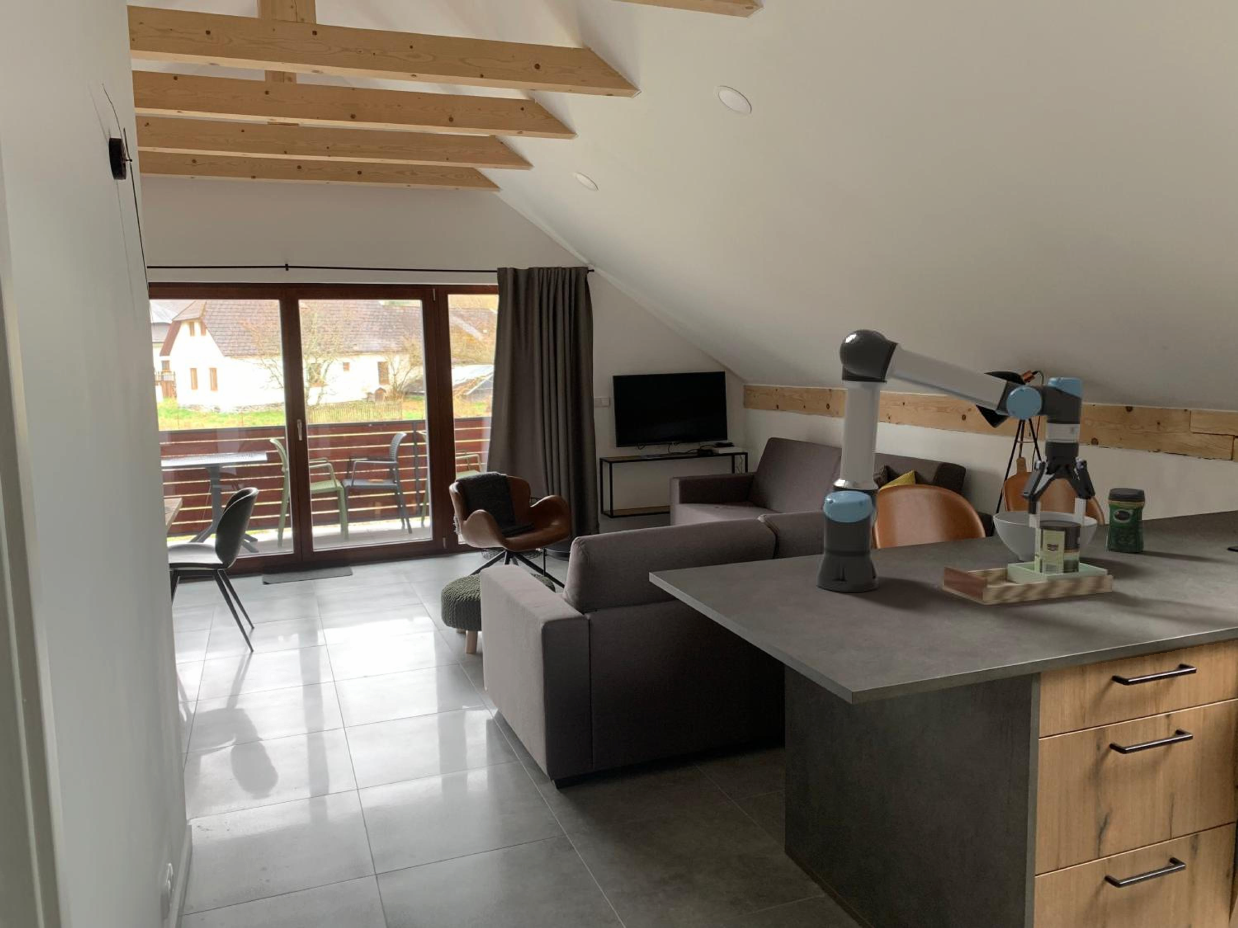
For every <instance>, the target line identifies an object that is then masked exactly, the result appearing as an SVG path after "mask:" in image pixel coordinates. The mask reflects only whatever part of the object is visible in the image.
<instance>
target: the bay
mask: <svg viewBox="0 0 1238 928" xmlns="http://www.w3.org/2000/svg"><path fill="white" fill-rule="evenodd" d="M1007 570H1008V567H999V568H988V569H978V570H975V569H974V570H962V569H959V568H957V567H953V566H949V565H945V566H944V571H943V572H944V573H942V574H941V576H942V577H941V578H942V579H941V590H943V591H946V592H949V593H951V594H954V595H956V596H959V597H962V598H964V599H968V600H970V601H973V602H976V603H977V604H978V603H979V604H981V605H984V606H988V605H989V606H990V605H997V604H999V605H1000V604H1007V603H1008V604H1009V603H1018V602H1028V601H1036V600H1038V601H1039V600H1046V599H1055V598H1056V599H1057V598H1064V597H1074V596H1075V597H1076V596H1085V595H1093V594H1095V595H1096V594H1103V593H1112V592H1113V582H1114V581H1113V580H1114V575H1112V574H1107V575H1105V576H1095V577H1085V578H1075V579H1065V580H1054V581H1044V582H1034V583H1024V584H1019V583H1016V582H1013V581H1010V580H1007Z"/></svg>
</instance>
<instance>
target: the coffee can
mask: <svg viewBox="0 0 1238 928" xmlns="http://www.w3.org/2000/svg"><path fill="white" fill-rule="evenodd" d="M1080 529H1081V524H1079V523H1076V522H1071V521H1063V520H1041V521H1040V527H1039V528H1036V538H1035V570H1034V571H1036V572H1039V573H1043V574H1046V575H1051V574H1061V573H1072V572H1079V563H1080V552H1081V551H1080Z"/></svg>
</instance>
